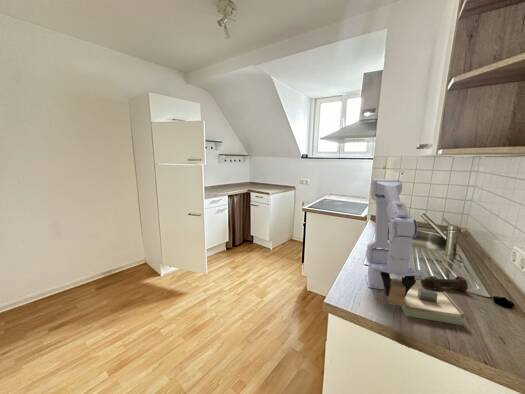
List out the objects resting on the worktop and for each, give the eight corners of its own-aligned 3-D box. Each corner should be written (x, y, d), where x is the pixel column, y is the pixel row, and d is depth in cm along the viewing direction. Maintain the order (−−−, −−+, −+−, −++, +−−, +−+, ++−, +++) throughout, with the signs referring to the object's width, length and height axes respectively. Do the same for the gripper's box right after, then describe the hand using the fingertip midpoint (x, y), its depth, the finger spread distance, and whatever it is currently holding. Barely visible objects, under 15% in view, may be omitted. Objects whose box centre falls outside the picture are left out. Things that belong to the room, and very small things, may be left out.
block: (385, 294, 74) (386, 277, 73) (398, 296, 73) (400, 279, 72) (389, 303, 70) (391, 286, 69) (403, 305, 69) (405, 288, 68)
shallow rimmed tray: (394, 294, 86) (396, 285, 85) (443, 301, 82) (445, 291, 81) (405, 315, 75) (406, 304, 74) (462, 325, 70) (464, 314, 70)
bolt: (420, 289, 93) (460, 291, 90) (426, 289, 88) (469, 292, 86) (417, 274, 95) (457, 276, 92) (423, 274, 90) (465, 276, 88)
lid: (398, 288, 85) (399, 279, 85) (442, 295, 81) (443, 285, 81) (409, 309, 74) (410, 298, 73) (460, 317, 70) (462, 306, 69)
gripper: (376, 258, 67) (372, 298, 69) (432, 264, 63) (425, 307, 66) (371, 249, 74) (368, 286, 76) (422, 254, 70) (416, 293, 72)
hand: (394, 295), depth 71 cm, fingers closed on block, 4 cm apart
